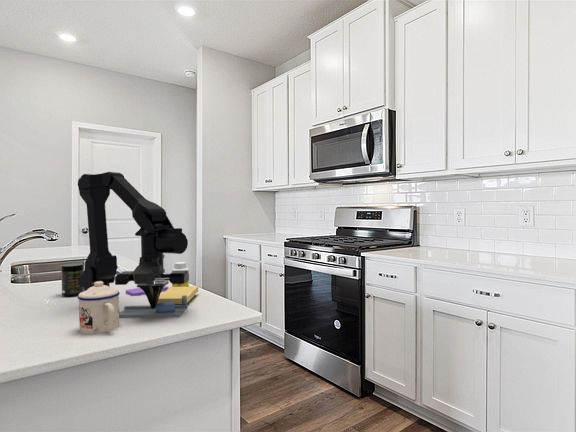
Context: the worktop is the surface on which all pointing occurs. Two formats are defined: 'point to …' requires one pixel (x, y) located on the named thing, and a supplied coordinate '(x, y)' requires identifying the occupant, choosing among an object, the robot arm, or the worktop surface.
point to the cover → (178, 295)
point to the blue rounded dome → (165, 307)
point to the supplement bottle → (180, 267)
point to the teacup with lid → (98, 309)
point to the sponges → (140, 291)
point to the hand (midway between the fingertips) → (153, 308)
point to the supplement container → (71, 279)
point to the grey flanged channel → (150, 312)
